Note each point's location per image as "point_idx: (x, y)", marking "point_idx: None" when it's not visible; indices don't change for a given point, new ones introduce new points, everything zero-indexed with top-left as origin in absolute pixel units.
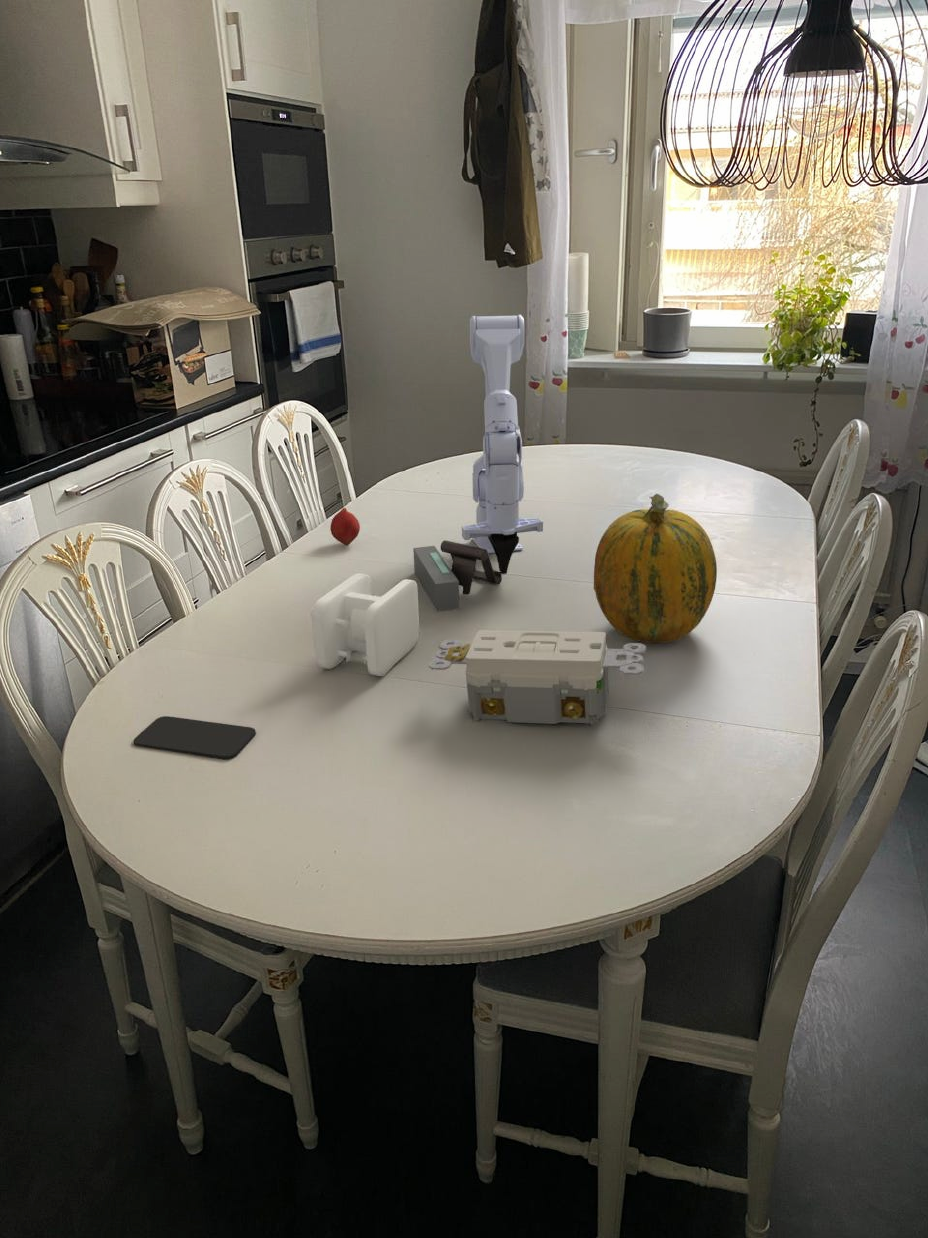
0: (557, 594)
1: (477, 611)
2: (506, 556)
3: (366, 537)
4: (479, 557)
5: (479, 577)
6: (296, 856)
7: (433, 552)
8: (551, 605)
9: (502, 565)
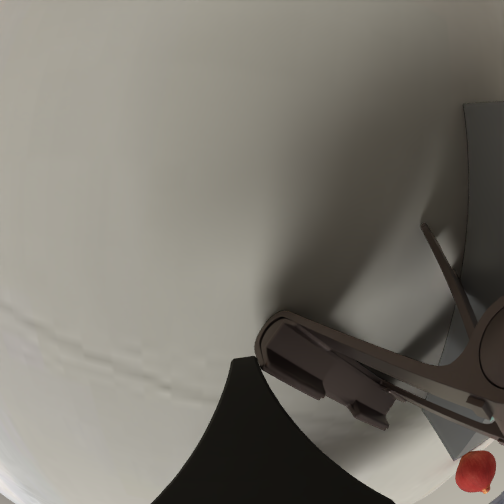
0: (23, 174)
1: (409, 48)
2: (241, 437)
3: (429, 478)
4: None
5: (348, 363)
6: None
7: (488, 422)
8: (66, 53)
9: (265, 386)
